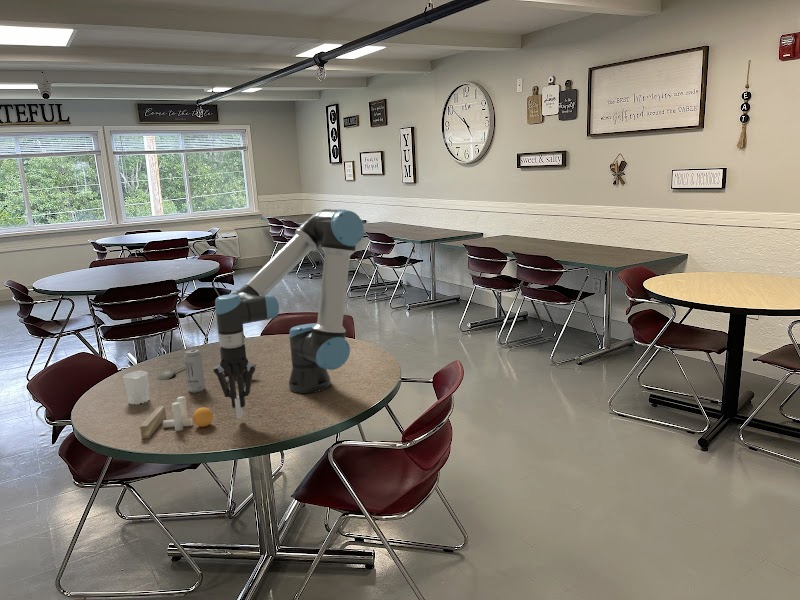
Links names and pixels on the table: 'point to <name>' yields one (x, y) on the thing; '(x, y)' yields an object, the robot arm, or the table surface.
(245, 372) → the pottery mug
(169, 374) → the soupspoon
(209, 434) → the table surface
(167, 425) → the front pin
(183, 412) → the pin
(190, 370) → the energy drink can
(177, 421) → the pin
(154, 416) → the back wall
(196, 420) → the ball
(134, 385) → the white cup
